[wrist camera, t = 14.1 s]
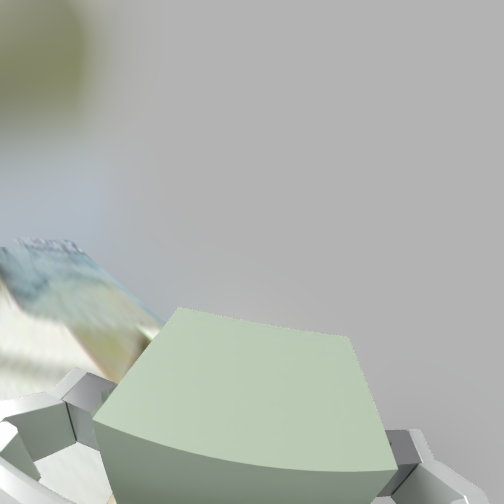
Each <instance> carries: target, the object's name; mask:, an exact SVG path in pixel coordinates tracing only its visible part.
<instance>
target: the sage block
mask: <svg viewBox="0 0 504 504" xmlns="http://www.w3.org/2000/svg"><path fill="white" fill-rule="evenodd" d="M92 422H93V426H94V431H95V435H96V439H97V443H98V446H99V450H100V454H101V457H102V461H103V464H104V467H105V471H106V474H107V477H108V480H109V483H110V486H111V489H112V492H113V495H114V498H115V500H116V503H117V504H370V503H371V502H372V501H373V499H375V497H376V496H377V495H378V494H379V493H380V492H381V490H382V489H383V488H384V487H385V486H386V484H387V483H388V482H389V481H390V479H391V478H392V477H393V475H394V474H395V473H396V472H397V470H398V467H397V464H396V461H395V458H394V455H393V453H392V450H391V447H390V444H389V441H388V438H387V435H386V433H385V430H384V427H383V425H382V422H381V419H380V416H379V414H378V411H377V408H376V406H375V403H374V400H373V398H372V395H371V392H370V390H369V387H368V385H367V382H366V380H365V377H364V375H363V372H362V370H361V367H360V365H359V362H358V360H357V357H356V355H355V352H354V350H353V348H352V345H351V343H350V340H349V338H348V337H345V336H337V335H331V334H323V333H317V332H310V331H303V330H297V329H291V328H285V327H279V326H273V325H268V324H262V323H256V322H251V321H246V320H240V319H235V318H230V317H225V316H220V315H215V314H210V313H205V312H201V311H196V310H191V309H187V308H183V307H179V308H178V309H177V310H176V312H175V313H174V314H173V315H172V316H171V318H170V319H169V320H168V321H167V323H166V324H165V325H164V327H163V328H162V329H161V330H160V332H159V333H158V334H157V335H156V337H155V338H154V339H153V340H152V342H151V343H150V344H149V346H148V347H147V348H146V349H145V351H144V352H143V353H142V355H141V356H140V357H139V358H138V360H137V361H136V362H135V364H134V365H133V366H132V367H131V369H130V370H129V371H128V373H127V374H126V375H125V376H124V378H123V379H122V380H121V382H120V383H119V384H118V386H117V387H116V388H115V389H114V391H113V392H112V393H111V395H110V396H109V397H108V399H107V400H106V401H105V403H104V404H103V405H102V407H101V408H100V409H99V411H98V412H97V413H96V414H95V416H94V417H93V418H92Z"/></svg>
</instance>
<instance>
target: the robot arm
mask: <svg viewBox="0 0 504 504" xmlns="http://www.w3.org/2000/svg"><path fill="white" fill-rule="evenodd" d="M117 386H118V385H117V384H116V383H114V382H111V381H109V380H106V379H104V378H101V377H99V376H96V375H94V374H92V373H88V372H86V371H84V370H82V369H80V368H73V369H72V370H71V371H70V372H69V373H68V374H67V375H66V376H65V377H64V378H63V379H62V380H61V381H60V382H59V383H58V384H57V385H56V386H55V387H54V388H53V389H52V390H51V391H50V392H49V393H47V392H40V393H36V394H32V395H28V396H23V397H19V398H14V399H10V400H5V401H0V504H76V503H74V502H72V501H71V500H69V499H67V498H65V497H63V496H61V495H59V494H58V493H56V492H54V491H52V490H50V489H49V488H47V487H45V486H44V485H42V484H40V483H39V482H38V481H39V479H40V478H41V476H40V473H39V471H38V469H37V468H36V466H35V464H34V462H35V461H37V460H39V459H42V458H44V457H46V456H48V455H51V454H53V453H55V452H57V451H60V450H62V449H64V448H66V447H68V446H70V445H72V444H75V443H76V441H77V442H79V443H81V444H84V445H86V446H88V447H91V448H93V449H95V450H98V451H100V450H99V446H98V443H97V439H96V435H95V431H94V426H93V422H92V418H93V417H94V416H95V414H96V413H97V412H98V411H99V409H100V408H101V407H102V405H103V404H104V403H105V401H106V400H107V399H108V397H109V396H110V395H111V393H112V392H113V391H114V389H115V388H116V387H117ZM385 433H386V435H387V438H388V441H389V444H390V447H391V450H392V453H393V455H394V458H395V461H396V464H397V467H398V470H397V472H396V473H395V474H394V475H393V477H392V478H391V479H390V481H389V482H388V483H387V484H386V486H385V487H384V488H383V489H382V490H381V492H380V493H379V494H378V495H377V496H376V497H383V496H391V498H392V499H393V500H394V501H395V503H396V504H490V503H489V501H488V498H487V497H486V495H485V493H484V491H483V490H481V489H480V488H478V487H477V486H475V485H474V484H472V483H471V482H469V481H468V480H466V479H465V478H463V477H462V476H460V475H459V474H457V473H456V472H454V471H453V470H451V469H450V468H448V467H447V466H446V465H444V464H442V463H441V462H440V461H435V459H434V457H433V455H432V453H431V451H430V449H429V447H428V444H427V443H426V440H425V438H424V436H423V434H422V432H421V431H420V430H419V429H410V430H409V429H408V430H385Z"/></svg>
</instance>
